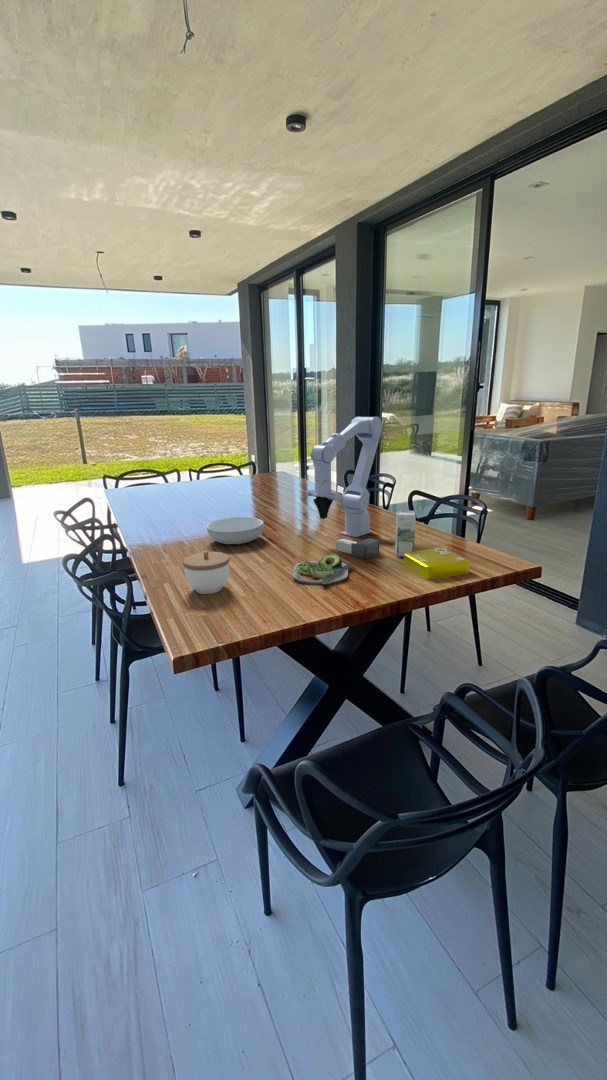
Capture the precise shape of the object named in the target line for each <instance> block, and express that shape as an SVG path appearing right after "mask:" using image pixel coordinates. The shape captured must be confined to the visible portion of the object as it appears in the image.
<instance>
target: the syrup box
mask: <svg viewBox="0 0 607 1080" xmlns="http://www.w3.org/2000/svg"><path fill="white" fill-rule="evenodd" d="M416 515H417V514H415V511H414V510H396V513H395V536H394V537H395V538H394V539H395V542H394V543H395V546H394V552H395V556H396V557H397V558H404V553H406V552H412V551H415V543H416V542H415V540H416V539H415V537H416V520H417V518H416Z"/></svg>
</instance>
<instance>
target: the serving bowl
mask: <svg viewBox="0 0 607 1080" xmlns="http://www.w3.org/2000/svg"><path fill="white" fill-rule="evenodd" d="M263 529H264V521H263V520H262V519H260V518H257V517H256V518H255V517H253V516H252V517H249V516H234V517H233V516H232V517H224V518H220V519H217V520H213V521H210V522H209V523H207V525H206V531H207V532H208V535H209V537H210V538H211V539H212V540H213V541H215V542H217V543H220V544H225V545H230V544H237V545H242V543H243V544H246V543H250V542H252V541H254V540H255V539H258V538H259V536H260V535H261V534H262V532H263Z"/></svg>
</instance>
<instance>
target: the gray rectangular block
mask: <svg viewBox="0 0 607 1080" xmlns="http://www.w3.org/2000/svg"><path fill="white" fill-rule="evenodd" d="M351 543H355V544H356V543H357V541H353V540H349V539H345V538H341V539H338V540H336V541H335V550H336V551H337V552H338V551H339V552H343V553H345V554H349V555H351Z"/></svg>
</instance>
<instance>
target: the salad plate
mask: <svg viewBox="0 0 607 1080" xmlns="http://www.w3.org/2000/svg"><path fill="white" fill-rule="evenodd" d="M352 566H353V563H344V562H342V559H341V557H340V556H339V555H338V554H327V555H324V556H322V557H321V559H320V560H319V561H315V560H313V561H312V560H311V561H308V560H306V561H301V562H298V563H296V564H295V565H294V566H293V568H292V578H293V579H294V580H296V581H297V582H299V583H302V584H306V585H330V584H334V583H338V582H341V581H343V580H346V579H347V577H348V576H349V569H350V568H352ZM301 575H302V576H304V575H305V576H310V577H312V579H313V580H312V579H309V580H308V579H304V578H303V577H301Z"/></svg>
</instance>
